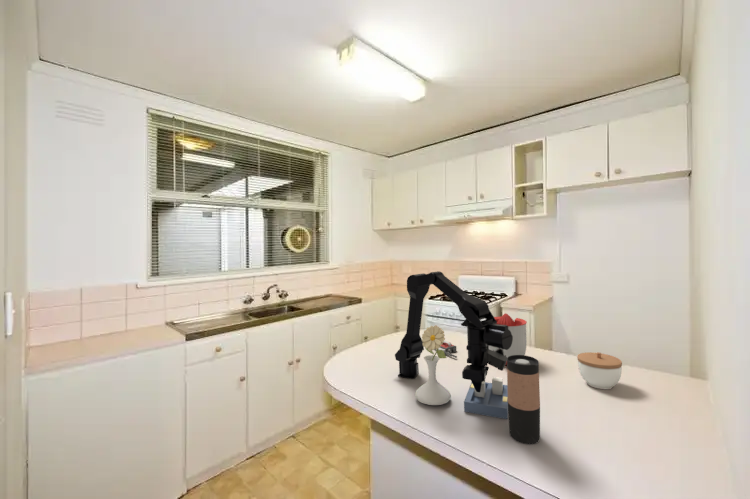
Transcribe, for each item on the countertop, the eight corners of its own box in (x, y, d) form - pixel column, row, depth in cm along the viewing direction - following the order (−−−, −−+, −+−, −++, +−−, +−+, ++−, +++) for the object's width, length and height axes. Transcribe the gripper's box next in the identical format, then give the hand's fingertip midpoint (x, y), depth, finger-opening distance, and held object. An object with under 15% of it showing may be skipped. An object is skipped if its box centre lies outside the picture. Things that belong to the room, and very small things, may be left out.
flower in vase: (408, 396, 110) (406, 321, 109) (437, 389, 114) (435, 317, 114) (430, 415, 98) (427, 331, 97) (461, 406, 102) (459, 325, 102)
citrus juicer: (530, 356, 142) (529, 310, 141) (524, 371, 127) (523, 319, 127) (493, 351, 150) (491, 307, 150) (483, 364, 136) (481, 315, 135)
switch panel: (464, 411, 99) (463, 400, 99) (472, 389, 114) (472, 379, 114) (507, 419, 94) (507, 408, 94) (510, 394, 109) (509, 385, 109)
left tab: (474, 396, 105) (474, 382, 105) (476, 392, 108) (475, 378, 108) (484, 397, 104) (484, 384, 104) (485, 393, 107) (485, 380, 107)
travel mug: (503, 429, 89) (501, 355, 89) (530, 426, 90) (528, 353, 90) (517, 446, 82) (515, 366, 81) (547, 443, 82) (545, 364, 82)
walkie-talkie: (425, 348, 159) (454, 361, 141) (424, 339, 159) (454, 350, 141) (439, 345, 163) (469, 356, 146) (438, 336, 163) (469, 346, 146)
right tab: (492, 394, 106) (492, 380, 106) (493, 390, 109) (492, 376, 109) (502, 395, 105) (502, 381, 105) (503, 391, 108) (502, 378, 108)
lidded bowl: (574, 386, 113) (573, 354, 113) (582, 374, 122) (581, 344, 122) (619, 397, 105) (619, 362, 104) (624, 383, 114) (624, 351, 114)
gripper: (502, 354, 91) (503, 410, 91) (506, 336, 108) (508, 383, 108) (461, 350, 96) (462, 403, 96) (471, 333, 113) (472, 378, 113)
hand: (478, 391), depth 103 cm, fingers closed
